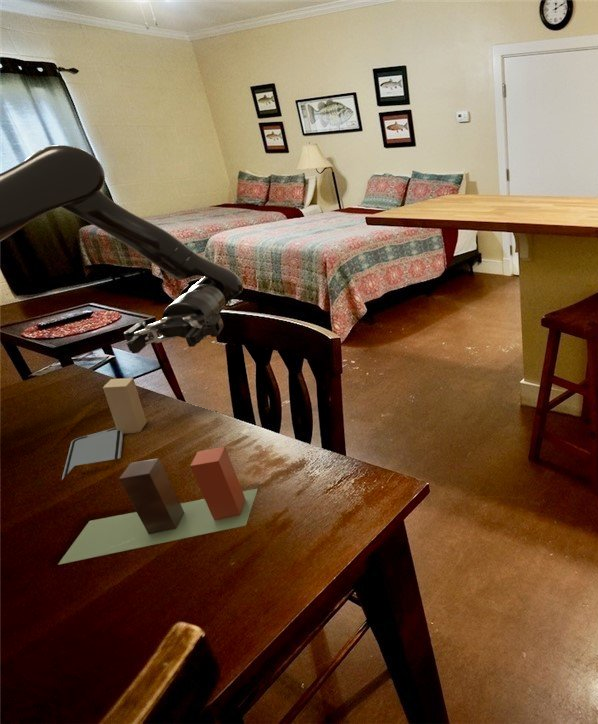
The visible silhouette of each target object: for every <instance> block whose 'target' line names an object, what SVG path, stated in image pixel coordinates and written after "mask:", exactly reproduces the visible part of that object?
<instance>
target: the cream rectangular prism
mask: <svg viewBox="0 0 598 724" xmlns="http://www.w3.org/2000/svg"><path fill="white" fill-rule="evenodd" d="M102 389H103V392H104V396H105V398H106V401H107V404H108V407H109V410H110V414H111V417H112V419H113V422H114V425H115V428H116V429H117V431H120V430H122V431H123V435H125V434H126V435H127V434H135V433H141V432H142V430H143V428H144V427H145V426H146V424H147V419H146V416H145V413H144V409H143V406H142V402H141V398H140V395H139V393H138V389H137V385H136V382H135V379H134V377H125V378H111V379H110V380H108V381H107V383H106V384H104V386H103V387H102Z"/></svg>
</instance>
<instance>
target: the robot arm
mask: <svg viewBox="0 0 598 724" xmlns="http://www.w3.org/2000/svg"><path fill="white" fill-rule="evenodd" d="M105 180H106V175H105V170H104V167H103V166H102V164H101V163H100V161H99V160H98V159H97V158H96V157H95V156H94V155H93V154H91V153H89V152H88V151H87V150H83V149H81V148H78V147H75V146H72V145H71V146H70V145H62V144H61V145H59V144H55V145H49V146H46V147H44V148H42V149H39V150H38V151H36V152H35V153H33V154H32V155H30V156H28V157H27V158H26V159H25V160H24V161H22V162H20V163H19V164H16V165H15V166H13V167H11V168H9V169H7V170H6V171H3V172H1V173H0V243H1V242H2V241H3V240H6V239H8V237H10V236H12V235H13V234H15V233H16V232H17V231H19V230H21V229H22V228H23V227H25V226H26V225H28V224H29V223H31V222H32V221H34V220H36V219H38V218H39V217H41V216H42V215H45V214H47V213H50V212H51V211H54V210H57V209H59V208H62V209H64V210H66V211H67V212H69V213H71V214H73V215H75V216H77V217H79V218H81V219H82V220H84V221H86V222H88V223H89V224H91V225H93V226H95V227H96V228H98V229H100V230H101V231H103V232H104V233H107V234H108V235H110V236H112V237H113V238H115V239H116V240H118V241H120V242H121V243H122V244H124V245H126V246H127V247H129V248H130V249H132V250H133V251H134V252H136V253H138V254H139V255H141V257H144V258H145V259H146V260H148V261H149V262H150V263H152V264H153V265H154V266H156V267H157V268H158V269H160V270H162V271H164V272H165V273H166V274H167V275H169V276H170V277H172V278H174V279H175V280H178V281H184V280H187V279H190V278H192V277H197V276H199V277H203V278H201V279H199V281H197V282H196V283H195V284H193V285H191V287H190V288H189V289H188V291H187V292H185V293H183V294H181V295H179V297H177V298H176V299H174V301H173V302H172V303H170V304H168V306H167V307H165V309H164V310H163V313H162V315H161V319H160V320H157V321H155V322H153V323H149V324H147V323H146V321H139V322H136V323H135V324H134V325H133V326H131V327H130V328H128V329H127V330H126V331H124V332H123V335H124V338H125V340H126V345H127V348H128V350H129V352H131V353H132V354H140V352H141V351H142V350H144V348H146V346H148V345H150V344H153V343H155V344H160V343H163V342H165V341H168V340H173V339H177V338H182V339H185V340H186V343H187V346H188V347H189V348H192V347H196V346H197V345H198V344H200V342H202V340H205V339H207V337H208V336H210V337H211V338H216V337H218V336H220V334H221V332H222V330H223V328H224V327H225V325H224V321H223V318H222V316H221V314H220V313H222V311H223V309H224V307H225V305H226V304H228V303H229V302H230V301H232V300H233V299H235V298H236V297H238V296H239V295H240V294H241V293H242V292H243V290H244V284H243V281H242V279H241V278H240V276H238V274H236V273H235V272H234V271H232V270H231V269H229V268H227V267H224V266H223V265H220V264H218V263H216V262H213V261H211V260H210V259H207V258H206V257H203V256H201V255H199V254H198V253H196V252H195V251H194V250H192V249H191V248H190V247H189V246H187V245H186V244H184V243H183V242H182V241H181V240H179V239H178V238H177V237H176V236H174V235H172V234H171V233H169V232H168V231H166V230H164V229H163V228H162V227H159V226H158V225H156V224H153V223H152V222H150V221H148V220H145V219H144V218H141V217H140V216H138V215H136V214H134V213H132V212H131V211H129V210H127V209H126V208H124V207H122V206H121V205H119V204H118V203H116V202H115V201H113V200H112V199H111V198H109V197H108V196H107V195H106V194H105V193H103V192H102V191H101V190H102V189H103V187H104V184H105ZM159 335H160V336H159ZM147 337H148V338H147ZM146 338H147V339H146Z"/></svg>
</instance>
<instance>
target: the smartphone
mask: <svg viewBox="0 0 598 724" xmlns="http://www.w3.org/2000/svg"><path fill="white" fill-rule="evenodd" d="M123 439H124V434H123V431H122V430H120V431H117V429H116V427H113V428H110V429H105V430H101V431H98V432H95V433H90V434H87V435H83V436H79V437H77V438H75V439H73V440H71V442H70V446H69V450H68V454H67V458H66V461H65V465H64V469H63V473H62V477H61V480H64V478H65V477H67V475H68V474H69V473H70V472H71V471H72V470H73V469H74V468H75V466H82V465H88V464H94V463H101V462H107V461H112V460H119V459H122V451H123V442H124V441H123Z"/></svg>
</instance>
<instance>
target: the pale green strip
mask: <svg viewBox="0 0 598 724" xmlns="http://www.w3.org/2000/svg"><path fill="white" fill-rule="evenodd" d="M258 490H259V488H254V489H253V488H252V489H248V490H244V491H243V490H242V491H243V494H244V497H245V499H246V500H245V503H244V506H243V509H242V511H241V514H240V515H238V516H234V517H229V518H224V519H219V520H214V519H213V517H212V515H211V512H210V510H209V508H208V505H207V503H206V501H205V499H204V498H202V499H196V500H191V501H187V502H180V504H181V506H182V508H183V510H184V514H183V516H182V518H181V520H180V522H179V524H178V526H177V528H176V529H172V530H167V531H162V532H157V533H152V534H148V533H147V531H146V529H145V527H144V525H143V523H142V521H141V519H140V518H139V516H138V514H137V512H136V511H133V512H129V513H124V514H119V515H113V516H108V517H102V518H98V519H93V520H89V521H88V523H86V525H85V526H84V527H83V529H82V531H81V532H80V533H79V535H78V536H77V538H75V540H74V541H73V542H72V544H71V545H70V547H69V548H68V549H67V551H66V553H65V554H64V555H63V556H62V558H61V559H60V561H59V562H58V564H57V565H58V566H60V565H63V564H69V563H73V562H80V561H83V560H89V559H93V558H98V557H102V556H107V555H111V554H116V553H121V552H126V551H130V550H136V549H140V548H145V547H150V546H155V545H159V544H164V543H169V542H174V541H179V540H184V539H188V538H192V537H198V536H203V535H206V534H207V535H208V534H211V533H217V532H221V531H226V530H231V529H237V528H241V527H246V526H247V524H248V522H249V517H250V514H251V512H252V509H253V505H254V502H255V499H256V496H257V494H258Z"/></svg>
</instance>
